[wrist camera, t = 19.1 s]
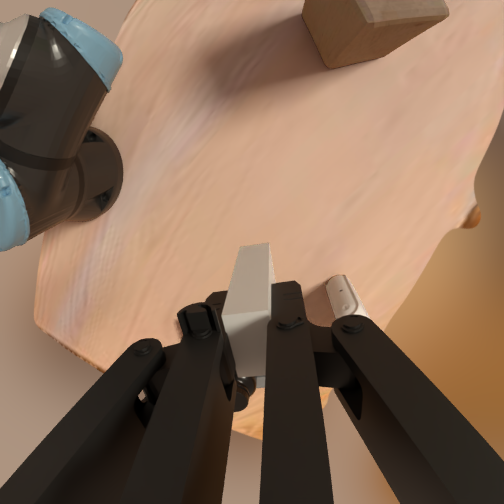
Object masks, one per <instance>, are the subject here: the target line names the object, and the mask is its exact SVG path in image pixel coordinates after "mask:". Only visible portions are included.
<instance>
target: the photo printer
mask: <svg viewBox="0 0 504 504" xmlns="http://www.w3.org/2000/svg"><path fill="white" fill-rule="evenodd" d="M326 290H327V294H328V297H329V300H330V303H331V306H332V309H333V312H334V315H335V318H336V319H338V318H340V317H342V316H346V315H351V314H357V315H362V316H366V317H368V318H369V319H370V317H369V316H368V313H367V311H366V309H365V307H364V305H363V303H362V301H361V299H360V297H359V295H358V294H357V292H356V290H355V288H354V286H353V285H352V283H351V282H350V280H349V279H348V278H347V276H346V275H343V276H342V275H337V276H334V277H332V278H331V279H330V280H329V281H328V284H327V285H326Z"/></svg>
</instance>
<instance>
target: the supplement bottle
mask: <svg viewBox="0 0 504 504" xmlns="http://www.w3.org/2000/svg"><path fill="white" fill-rule="evenodd" d="M234 377H235V381H236V385H237V390H236V398H235V405H234V412H239V411H242V410H244V409H245V408H246V407H247V405H248V401H249V397H250V396H251V395H252V394H253V393H254V392H255V390H256V386H257V376H251V377H239V378H238V375H237V371H236V368H235V374H234Z"/></svg>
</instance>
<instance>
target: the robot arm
mask: <svg viewBox="0 0 504 504" xmlns="http://www.w3.org/2000/svg"><path fill="white" fill-rule="evenodd" d="M39 16H40V17H39V18H37V17H34V16H31V15H28V14H23V15H21V16H19V17H18V18H15V19H13V20H12V21H10V22H6V23H1V22H0V252H1V251H6V250H9V249H11V248H13V247H15V246H19V245H23V244H25V242H26V241H28V240H30V239H32V238H33V237H35V236H37V235H38V234H41V233H42V232H44V231H46V230H48V229H50V228H52V227H53V226H55V225H57V224H59V223H61V222H63V221H77V222H83V221H89V220H92V219H94V218H96V217H98V216H100V215H102V214H104V213H105V212H106V211H108V210H109V209H110V208H111V207H112V205H113V204H114V203H115V201H116V199H117V198H118V195H119V193H120V190H121V187H122V182H123V164H122V159H121V156H120V153H119V150H118V148H117V146H116V144H115V143H114V142H113V140H112V139H111V138H110V137H109V136H108V135H107V134H106V133H104V132H103V131H101V130H99V129H97V128H93V127H90V125H91V123H92V121H93V119H94V117H95V115H96V113H97V111H98V109H99V107H100V106H101V104H102V102H103V100H104V98H105V96H106V94H107V93H109V92H110V90H111V84H112V82H113V80H114V79H115V77H116V75H117V73H118V71H119V69H120V67H121V65H122V62H123V55H122V52H121V50H120V49H119V48H118V46H117V45H116V44H114V43H113V42H112V41H111V40H109V39H108V38H107V37H105V36H104V35H103V34H101V33H100V32H98V31H97V30H95V29H94V28H92V27H90V26H89V25H87V24H86V23H84V22H82V21H80V20H78V19H77V18H73V17H72V16H70V15H68V14H66V13H65V12H63V11H61V10H58V9H55V8H47V9H45V10H44V11H43V12H42V13H41V14H40V15H39ZM177 317H178V320H179V323H180V326H181V329H182V332H183V337H182V340H181V342H180V343H178V344H175V345H171V346H167V347H162V344H161V342H160V341H159V340H157V339H154V338H146V339H141V340H139V341H137V342H135V343H133V344H132V345H131V346H130V347H128V348H127V350H126V351H125V352H124V353H123V354H122V355H121V356H120V357H119V358H118V359H117V360H116V361H115V362H114V363H113V364H112V365H111V367H110V368H109V369H108V370H107V371H106V372H105V373H104V374H103V375H102V376H101V377H100V378H99V379H98V381H97V382H96V383H95V384H94V385H93V386H92V387H91V388H90V389H89V390H88V391H87V392H86V393H85V394H84V396H83V397H82V398H81V399H80V400H79V401H78V402H77V403H76V404H75V406H74V407H73V408H72V409H71V410H70V411H69V412H68V413H67V414H66V415H65V417H63V418H62V420H61V421H60V422H59V423H58V424H57V425H56V426H55V427H54V428H53V430H52V431H51V432H50V433H49V434H48V435H47V436H46V438H44V440H43V441H42V442H41V443H40V444H39V445H38V446H37V447H36V449H35V450H34V451H33V452H32V453H31V454H30V455H29V456H28V458H27V459H26V460H25V461H24V462H23V463H22V465H20V467H19V468H18V469H17V470H16V471H15V472H14V473H13V475H12V476H11V477H10V478H9V479H8V481H7V482H6V483H5V484H4V485H3V486H2V487H1V489H0V504H221V503H222V495H223V488H224V480H225V473H226V465H227V457H228V450H229V443H230V436H231V428H232V421H233V413H234V405H235V398H236V390H237V385H236V381H235V377H234V374H235V368H236V371H237V375H238V378H239V377H251V376H262V375H265V397H264V421H263V443H262V465H261V484H260V500H259V504H334V501H333V492H332V483H331V474H330V466H329V458H328V450H327V442H326V434H325V427H324V419H323V412H322V405H321V399H320V392H319V386H320V387H331V388H334V391H335V394H336V395H337V397H338V399H339V400H340V402H341V404H342V405H343V407H344V409H345V410H346V412H347V414H348V416H349V417H350V419H351V421H352V422H353V424H354V426H355V428H356V429H357V431H358V433H359V434H360V436H361V438H362V439H363V441H364V443H365V445H366V446H367V448H368V450H369V451H370V453H371V455H372V456H373V458H374V460H375V462H376V463H377V465H378V466H379V468H380V470H381V472H382V473H383V475H384V477H385V478H386V480H387V482H388V484H389V485H390V487H391V489H392V490H393V492H394V494H395V496H396V497H397V499H398V501H399V502H400V504H504V461H503V460H502V459H501V458H500V457H499V455H498V454H497V453H496V452H495V451H494V449H493V448H492V447H491V446H490V445H489V444H488V443H487V442H486V440H485V439H484V438H483V437H482V436H481V435H480V434H479V433H478V431H477V430H476V429H475V428H474V427H473V426H472V425H471V424H470V423H469V422H468V421H467V419H466V418H465V417H464V416H463V415H462V414H461V413H460V412H459V411H458V410H457V409H456V407H455V406H454V405H453V404H452V403H451V402H450V401H449V400H448V399H447V398H446V397H445V396H444V394H442V392H441V391H440V390H439V389H438V388H437V387H436V386H435V385H434V384H433V383H432V382H431V381H430V380H429V379H428V378H427V376H426V375H424V373H423V372H422V371H421V370H420V369H419V368H418V367H417V366H416V365H415V364H414V363H413V362H412V361H411V360H410V359H409V358H408V357H407V356H406V355H405V354H404V353H403V352H402V351H401V350H400V348H398V346H397V345H396V344H395V343H394V342H393V341H392V340H391V339H390V338H389V337H388V336H387V335H386V334H385V333H384V332H383V331H382V330H381V329H380V328H379V327H378V326H377V325H376V324H375V323H374V322H373V321H372V320H371V319H369V318H368V317H366V316H362V315H357V314H351V315H346V316H342V317H340V318H338V319H336V320H335V321H334V322H333V323H332V326H331V327H320V326H317V325H314V324H312V323H310V322H309V321H308V320H307V317H306V312H305V307H304V301H303V296H302V291H301V285H300V284H298V283H297V282H296V281H288V282H281V283H276V281H275V275H274V269H273V263H272V257H271V251H270V245H269V243H263V244H257V245H250V246H243V247H240V248H239V252H238V256H237V259H236V263H235V267H234V270H233V274H232V278H231V282H230V285H229V289H228V291H220V292H213V293H212V294H211V295H210V296H209V297H208V298H207V299H206V301H205V302H199V303H195V304H191V305H188V306H186V307H184V308H183V309H181V310H180V311H179V312H178V313H177ZM142 390H143V392H144V394H145V396H146V397H145V398H144V399H143V400H142V401H141V400H140V399H139V397H138V395H139V394H140V392H141V391H142Z"/></svg>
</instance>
